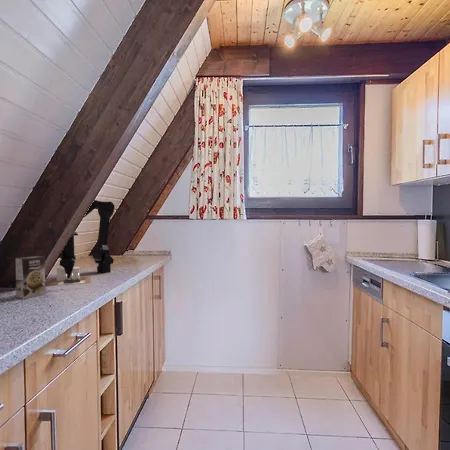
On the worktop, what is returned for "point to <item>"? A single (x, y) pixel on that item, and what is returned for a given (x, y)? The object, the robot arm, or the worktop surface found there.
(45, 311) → the worktop surface
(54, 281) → the board
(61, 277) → the block
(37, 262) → the cookie box
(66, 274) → the dark grey bulb holder
